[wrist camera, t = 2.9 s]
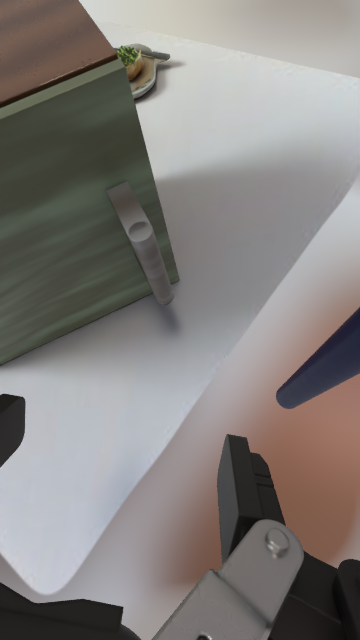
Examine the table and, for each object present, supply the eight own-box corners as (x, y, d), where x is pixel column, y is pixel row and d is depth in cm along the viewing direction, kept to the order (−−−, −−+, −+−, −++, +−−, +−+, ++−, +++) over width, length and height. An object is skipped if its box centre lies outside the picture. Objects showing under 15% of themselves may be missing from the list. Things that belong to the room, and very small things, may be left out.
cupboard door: (200, 317, 36) (167, 124, 14) (-2, 415, 35) (-376, 362, 13) (176, 274, 39) (119, 57, 17) (-12, 362, 37) (-333, 248, 16)
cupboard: (175, 273, 39) (117, 52, 17) (-11, 361, 38) (-337, 242, 16) (127, 185, 46) (43, -50, 24) (-31, 256, 45) (-273, 74, 23)
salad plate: (170, 43, 60) (166, 12, 56) (173, 99, 53) (169, 69, 49) (77, 60, 62) (66, 32, 58) (68, 117, 55) (55, 89, 51)
